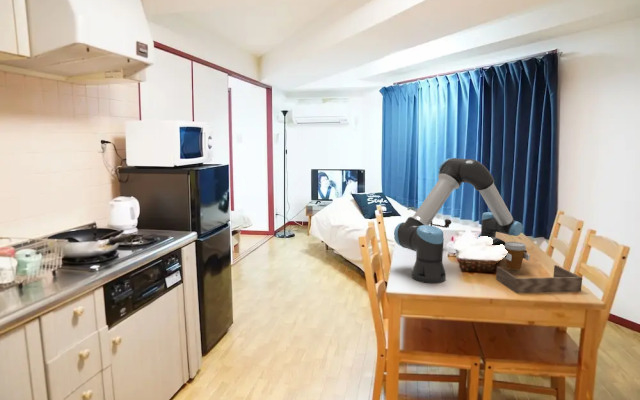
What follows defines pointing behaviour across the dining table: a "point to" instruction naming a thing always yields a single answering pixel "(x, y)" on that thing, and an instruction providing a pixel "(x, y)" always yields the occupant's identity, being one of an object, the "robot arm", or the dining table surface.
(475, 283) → the dining table surface
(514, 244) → the disposable coffee cup
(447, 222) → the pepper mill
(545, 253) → the dining table surface
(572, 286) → the walnut crate
